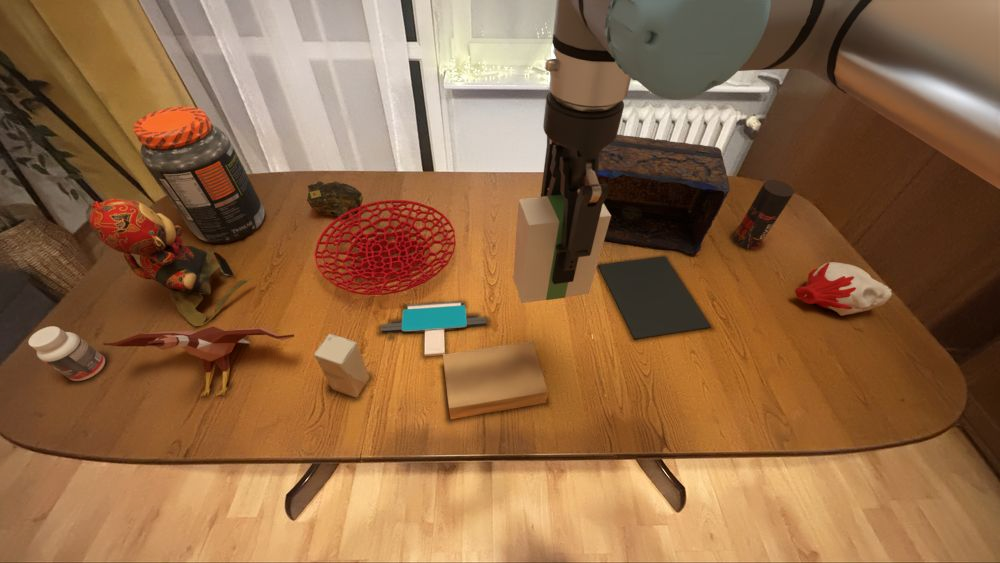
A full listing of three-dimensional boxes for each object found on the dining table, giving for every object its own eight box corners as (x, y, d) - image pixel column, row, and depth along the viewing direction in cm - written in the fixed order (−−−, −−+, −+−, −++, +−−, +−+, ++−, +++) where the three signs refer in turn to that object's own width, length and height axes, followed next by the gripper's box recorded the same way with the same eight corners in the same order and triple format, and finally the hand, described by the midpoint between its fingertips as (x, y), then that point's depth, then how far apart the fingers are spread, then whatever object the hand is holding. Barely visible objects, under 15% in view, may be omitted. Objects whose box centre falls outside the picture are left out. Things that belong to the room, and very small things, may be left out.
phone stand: (378, 360, 75) (377, 355, 73) (384, 308, 83) (382, 303, 81) (489, 351, 76) (489, 346, 75) (484, 301, 84) (484, 296, 83)
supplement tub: (225, 199, 105) (168, 97, 86) (280, 210, 103) (233, 107, 84) (178, 239, 95) (100, 133, 76) (237, 252, 92) (173, 146, 73)
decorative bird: (85, 432, 61) (37, 347, 55) (166, 359, 78) (136, 287, 71) (283, 421, 63) (259, 337, 57) (321, 352, 80) (306, 281, 73)
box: (331, 389, 71) (311, 353, 62) (345, 368, 73) (327, 331, 65) (358, 398, 70) (341, 364, 61) (371, 377, 72) (357, 341, 64)
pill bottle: (61, 382, 70) (13, 350, 63) (82, 355, 74) (38, 322, 67) (94, 381, 71) (50, 349, 63) (113, 354, 74) (73, 321, 67)
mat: (710, 327, 81) (711, 326, 81) (634, 339, 79) (634, 338, 79) (664, 257, 94) (665, 256, 94) (597, 265, 92) (598, 264, 92)
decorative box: (702, 261, 95) (689, 201, 107) (742, 194, 79) (722, 132, 91) (568, 249, 98) (570, 192, 110) (580, 182, 82) (581, 123, 93)
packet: (529, 225, 47) (611, 215, 49) (518, 198, 50) (596, 190, 52) (520, 304, 57) (589, 294, 59) (512, 277, 61) (577, 269, 62)
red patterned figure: (233, 323, 77) (108, 226, 59) (158, 333, 81) (18, 244, 62) (263, 263, 87) (165, 164, 68) (196, 274, 90) (84, 182, 72)
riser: (545, 403, 70) (548, 391, 67) (450, 419, 67) (448, 408, 64) (531, 353, 76) (533, 340, 73) (444, 366, 74) (442, 354, 71)
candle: (878, 314, 84) (811, 333, 82) (835, 274, 91) (773, 291, 90) (907, 285, 77) (835, 306, 76) (858, 245, 84) (791, 263, 83)
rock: (357, 169, 101) (351, 182, 95) (371, 202, 106) (367, 217, 100) (308, 181, 101) (299, 195, 95) (325, 214, 107) (317, 229, 100)
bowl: (324, 325, 80) (316, 308, 76) (319, 229, 98) (312, 212, 95) (472, 291, 86) (471, 274, 82) (441, 207, 105) (439, 191, 101)
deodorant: (740, 229, 102) (771, 176, 91) (764, 242, 99) (799, 189, 88) (728, 239, 99) (758, 186, 88) (751, 253, 96) (786, 200, 85)
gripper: (525, 61, 45) (514, 226, 62) (579, 146, 33) (548, 321, 50) (590, 57, 46) (562, 220, 63) (665, 139, 34) (606, 312, 51)
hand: (556, 265), depth 57 cm, fingers closed on packet, 5 cm apart
